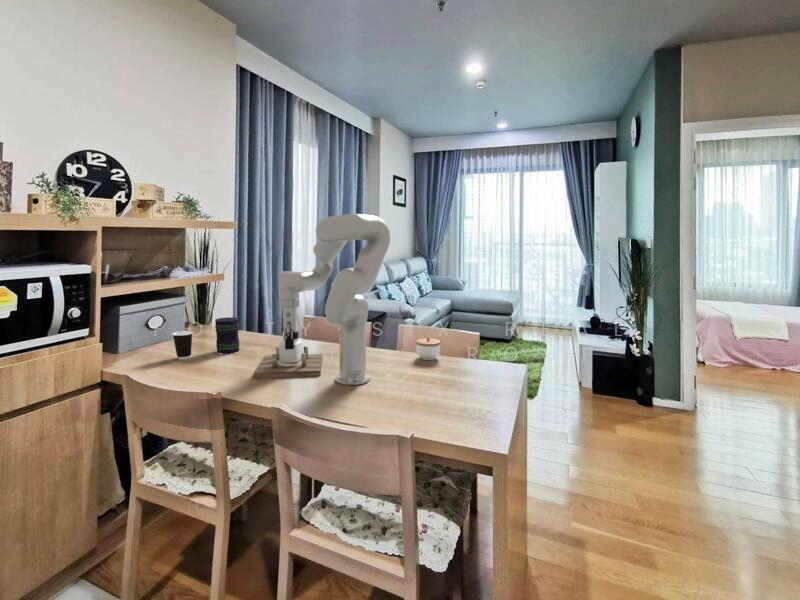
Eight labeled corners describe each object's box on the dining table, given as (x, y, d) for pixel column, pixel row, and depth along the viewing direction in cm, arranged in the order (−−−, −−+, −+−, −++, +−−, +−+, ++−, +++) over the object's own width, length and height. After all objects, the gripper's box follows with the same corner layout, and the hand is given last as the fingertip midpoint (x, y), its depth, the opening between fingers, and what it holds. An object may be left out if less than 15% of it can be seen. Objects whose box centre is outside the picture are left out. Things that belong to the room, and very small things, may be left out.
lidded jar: (413, 360, 180) (413, 339, 179) (418, 354, 191) (418, 334, 190) (438, 362, 178) (438, 340, 177) (441, 356, 188) (442, 335, 187)
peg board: (320, 375, 159) (320, 357, 158) (254, 378, 155) (253, 359, 154) (322, 358, 182) (322, 342, 181) (265, 360, 179) (264, 344, 178)
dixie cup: (198, 356, 184) (197, 331, 182) (182, 361, 176) (181, 335, 175) (185, 354, 187) (184, 330, 185) (169, 359, 180) (167, 333, 178)
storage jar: (217, 349, 196) (216, 317, 194) (240, 348, 199) (239, 316, 197) (215, 354, 187) (213, 321, 185) (239, 353, 189) (237, 320, 187)
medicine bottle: (302, 357, 172) (302, 328, 170) (296, 362, 164) (295, 332, 163) (285, 357, 172) (284, 328, 171) (279, 362, 165) (278, 332, 164)
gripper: (297, 306, 157) (298, 351, 160) (301, 299, 174) (302, 341, 177) (276, 306, 156) (278, 352, 159) (282, 300, 173) (283, 341, 176)
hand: (290, 346), depth 168 cm, fingers closed on medicine bottle, 8 cm apart
